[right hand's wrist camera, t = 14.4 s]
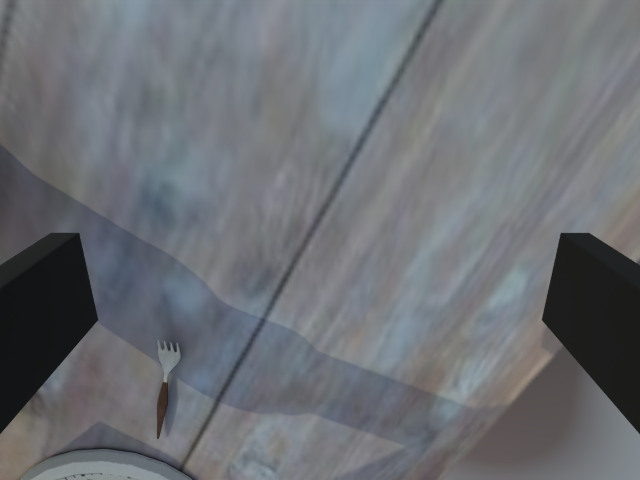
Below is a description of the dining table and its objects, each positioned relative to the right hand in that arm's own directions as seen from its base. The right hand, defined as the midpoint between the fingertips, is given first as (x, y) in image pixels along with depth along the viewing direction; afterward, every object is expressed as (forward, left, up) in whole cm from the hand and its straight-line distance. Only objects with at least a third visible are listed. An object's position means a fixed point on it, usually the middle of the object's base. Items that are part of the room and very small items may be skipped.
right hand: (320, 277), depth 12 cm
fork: (+18, +30, -32) cm, 48 cm away
